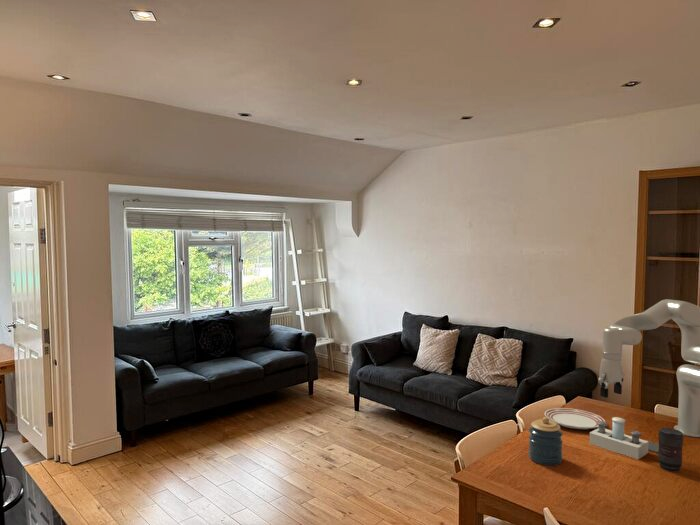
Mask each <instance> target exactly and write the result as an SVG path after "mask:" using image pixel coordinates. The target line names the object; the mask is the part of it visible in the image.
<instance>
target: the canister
mask: <svg viewBox="0 0 700 525" xmlns="http://www.w3.org/2000/svg"><path fill="white" fill-rule="evenodd" d="M528 430H529V436H528V440H529V442H528V443H529V444H528V446H529V447H528V456H529V459H530V460H531V461H533V462H534V463H537V464H539V465H543V466H558V465H560V464H562V463H563V462H562V461H563V443H564V442H563V440H562V437H563V435H564V433H563V432H562V430H561V425H559V424H557V423H555V422H554V421H551V420H549V419H548V418H547V417H546V416H543V417H542V418H539V419H536V420H533V421H531V423H530V426H529V428H528Z"/></svg>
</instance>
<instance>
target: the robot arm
mask: <svg viewBox="0 0 700 525" xmlns="http://www.w3.org/2000/svg"><path fill="white" fill-rule="evenodd" d="M669 320H672V321H673V322H675V324H677V326H678V327H679V329H680V332H681V344H680V345H681V347H680V348H681V349H680V350H681V352H680V354H681V357H682V359H683V361H685V362H689V363H691V364H681V365H680V366H678V367H677V370H676V380H677V386H678V405H677V406H678V410H677V411H678V412H677V416H678V417H677V424H675V425H674V426H673V429H676V430H679V431H681V432H682V433H683V436H688V437H693V438H700V305H696V304H694V303H691V302H689V301H684V300H676V299H669V298H668V299H666V298H665V299H662V300H660V301H659V302H656V303H655V304H654V305H652V306H650V307H649V308H648V309H646V310H644V311H643V312H639V313H635V314H631V315H628V316H624V317H622V318H619V319H618V320H616V321H615V322H613V323H612V324H610V325H609V327H605V328H603V331H602V359H601V360H600V367H599V377H598V379H597V380H598V385H599V387H600V390H599V391H600V395H599V396H600V397H603V398H606V399H607V398H609V385H610V384H613V393H615V394H616V395H622V392H623V391H622V390H623V389H622V388H623V383H624V381H625V380H624V378H625V373H623V362H622V361H623V345H624V346H625V345H626V346H637V345H639V344H640V343H641V342H642V338H643V335H642V333H641V331H647V330H654V329H655V330H656V329H657V328H659V327H660V326H663V325H664V324H665V323H667V322H668V321H669ZM694 364H696V365H694ZM697 365H699V366H697Z"/></svg>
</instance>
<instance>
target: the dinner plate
mask: <svg viewBox="0 0 700 525" xmlns="http://www.w3.org/2000/svg"><path fill="white" fill-rule="evenodd" d="M544 417H547V418H548V419H549V420H551V421H554V422H555V423H556V424H558V425H559V426H560V427H561V426H562V427H565V428H568V429H574V430H590V429H598V428H599V425H597V421H604V422H606V420H605V419H604V418H603V417H602V416H601V415H599V414H595V413H594V412H589V411H587V410H582V409H576V408H570V407H569V408H568V407H555V408H550V409H547V410H545V411H544Z"/></svg>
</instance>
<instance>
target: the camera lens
mask: <svg viewBox="0 0 700 525" xmlns="http://www.w3.org/2000/svg"><path fill="white" fill-rule="evenodd" d="M658 444H659V452H658V453H657V457H658V464H659V467H660V468H661V469H663V470H665V471H668V472H672V473H678V472H680V470H681V468H682V464H683V448H684V447H683V445H684V435H683V433H682V432H681V431H679V430H676V429H674V428H671V427H660V428H659V431H658Z"/></svg>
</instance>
